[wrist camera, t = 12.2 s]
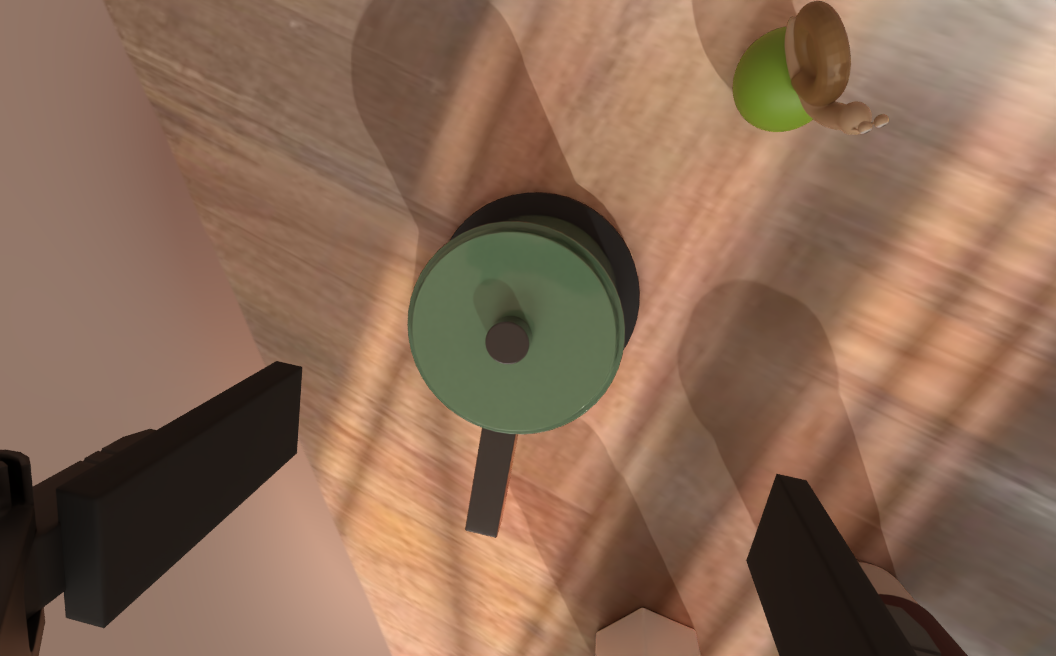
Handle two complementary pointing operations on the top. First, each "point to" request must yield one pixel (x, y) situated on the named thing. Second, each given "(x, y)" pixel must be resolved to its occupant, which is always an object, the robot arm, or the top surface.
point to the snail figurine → (801, 76)
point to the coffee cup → (910, 608)
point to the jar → (646, 637)
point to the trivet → (580, 218)
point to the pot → (515, 338)
